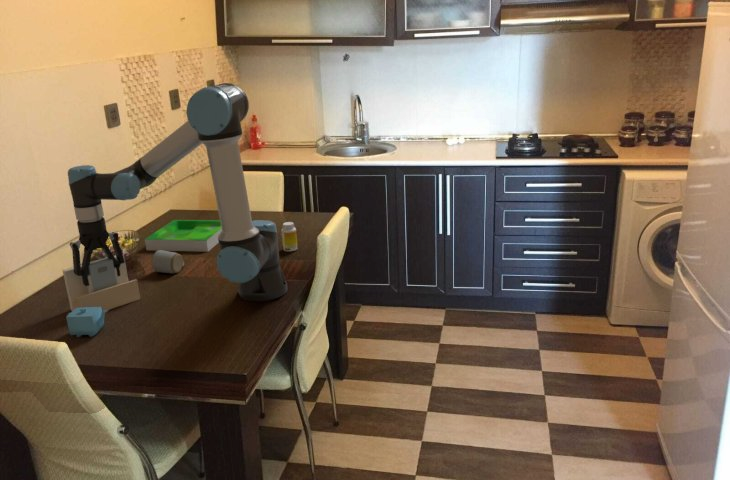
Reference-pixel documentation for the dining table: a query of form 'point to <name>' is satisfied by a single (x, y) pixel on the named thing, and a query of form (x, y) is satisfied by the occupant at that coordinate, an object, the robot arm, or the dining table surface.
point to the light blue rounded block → (85, 321)
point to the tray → (185, 236)
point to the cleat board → (101, 291)
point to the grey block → (102, 274)
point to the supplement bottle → (289, 237)
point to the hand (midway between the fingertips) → (104, 290)
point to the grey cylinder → (167, 262)
